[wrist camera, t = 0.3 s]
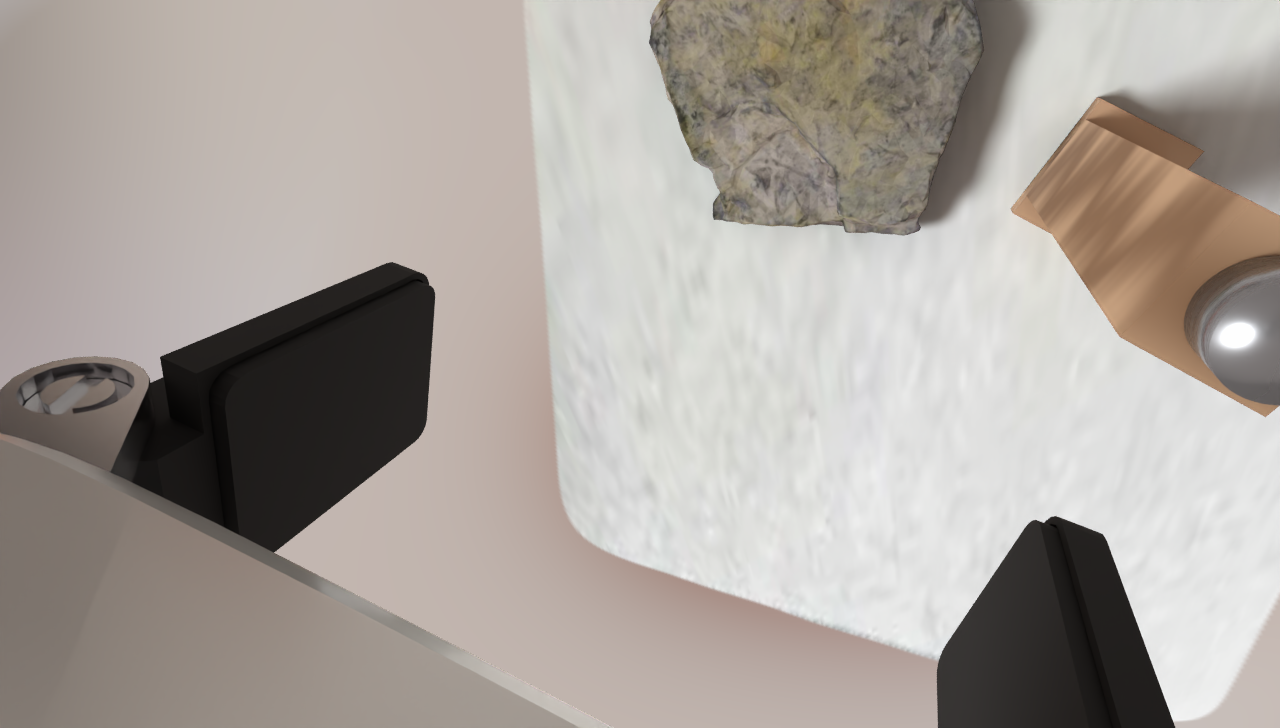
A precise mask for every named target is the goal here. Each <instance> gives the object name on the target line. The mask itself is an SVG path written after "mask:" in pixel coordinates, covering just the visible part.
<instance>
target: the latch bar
mask: <svg viewBox="0 0 1280 728" xmlns="http://www.w3.org/2000/svg"><path fill="white" fill-rule="evenodd" d="M1184 332H1185V336H1186V339H1187V341H1188V343H1189V345H1190V346H1191V348H1192V349H1193V350H1194V352H1195V353H1196V354H1197V355H1198V356H1199V357H1200V359H1201V360H1202V361H1203V362H1204V363H1205V364H1206V366H1207V367H1208V368H1209V369H1210V370H1211V371H1212V372H1213V374H1214V375H1215V376H1216V377H1217V378H1218V379H1219V380H1220V382H1221V383H1222V384H1223V385H1224V386H1225V387H1227V388H1228V389H1229V390H1230V391H1232V392H1233V393H1235V394H1237V395H1238V396H1241V397H1243V398H1245V399H1248V400H1251V401H1254V402H1257V403H1262V404H1268V405H1277V406H1280V255H1277V256H1264V257H1257V258H1253V259H1248V260H1245V261H1242V262H1239V263H1236V264H1234V265H1232V266H1229V267H1227V268H1225V269H1224V270H1222V271H1220V272H1218V273H1217V274H1215V275H1214V276H1212V277H1211V278H1210V279H1208V280H1207V281H1206V282H1205V283H1204V284H1203V285H1202V286H1201V287H1200V288H1199V289H1198V290H1197V291H1196V293H1195V294H1194V296H1193V297H1192V299H1191V300H1190V302H1189V304H1188V306H1187V309H1186V312H1185V317H1184Z"/></svg>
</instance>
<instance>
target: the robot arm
mask: <svg viewBox="0 0 1280 728" xmlns="http://www.w3.org/2000/svg"><path fill="white" fill-rule="evenodd" d="M434 305H435V292H434V289H433V288H432V287H431V286H429V282H428V279H427V277H426V276H425V275H424V274H422V273H420V272H417V271H414V270H412V269H409V268H407V267H404V266H401V265H399V264H396V263H393V262H391V263H386V264H384V265H381V266H379V267H377V268H374V269H372V270H369V271H367V272H365V273H362V274H360V275H357V276H355V277H352V278H350V279H348V280H345V281H343V282H341V283H338V284H335V285H333V286H331V287H328V288H326V289H323V290H321V291H318V292H316V293H314V294H311V295H309V296H307V297H304V298H302V299H299V300H297V301H294V302H292V303H290V304H287V305H285V306H282V307H280V308H278V309H275V310H273V311H270V312H268V313H265V314H263V315H260V316H258V317H256V318H253V319H251V320H249V321H246V322H244V323H241V324H239V325H236V326H234V327H231V328H229V329H227V330H224V331H222V332H219V333H217V334H215V335H212V336H210V337H207V338H205V339H202V340H200V341H198V342H195V343H193V344H190V345H188V346H186V347H183V348H181V349H178V350H176V351H173V352H171V353H169V354H166V355H164V356H161V357H160V359H161V365H162V371H163V378H161V379H159V380H156V381H154V382H152V383H150V378H149V376H148V375H147V373H146V371H145V370H144V369H143V368H141V367H140V366H138V365H136V364H135V363H133V362H129V361H126V360H121V359H118V358H110V357H97V356H94V357H76V358H69V359H63V360H58V361H52V362H49V363H46V364H43V365H40V366H37V367H33V368H31V369H29V370H27V371H25V372H23V373H21V374H19V375H17V376H15V377H14V378H12V379H11V380H10V381H9V382H8V383H7V384H6V385H5V386H4V387H2V389H1V390H0V728H614V727H612V726H610V725H608V724H606V723H604V722H602V721H600V720H598V719H596V718H594V717H592V716H590V715H588V714H586V713H585V712H583V711H581V710H579V709H577V708H575V707H573V706H571V705H569V704H567V703H565V702H563V701H562V700H560V699H558V698H556V697H554V696H552V695H550V694H548V693H546V692H544V691H542V690H540V689H538V688H536V687H534V686H532V685H531V684H529V683H527V682H525V681H523V680H521V679H519V678H517V677H515V676H513V675H511V674H509V673H507V672H505V671H504V670H502V669H499V668H498V667H496V666H494V665H492V664H490V663H488V662H486V661H484V660H482V659H480V658H478V657H476V656H474V655H473V654H471V653H469V652H467V651H465V650H463V649H461V648H459V647H457V646H455V645H453V644H451V643H449V642H447V641H445V640H443V639H441V638H440V637H438V636H436V635H434V634H432V633H430V632H428V631H426V630H424V629H422V628H420V627H418V626H416V625H414V624H412V623H410V622H409V621H406V620H405V619H403V618H400V617H399V616H397V615H395V614H393V613H391V612H389V611H387V610H385V609H383V608H381V607H379V606H377V605H375V604H373V603H372V602H370V601H367V600H366V599H364V598H362V597H360V596H358V595H356V594H354V593H352V592H350V591H348V590H346V589H344V588H342V587H340V586H338V585H336V584H334V583H332V582H330V581H328V580H326V579H324V578H322V577H320V576H318V575H317V574H315V573H313V572H311V571H309V570H307V569H305V568H303V567H301V566H299V565H297V564H295V563H293V562H291V561H289V560H287V559H285V558H283V557H281V556H279V555H277V554H275V553H274V552H275V551H277V550H278V549H279V548H280V547H282V546H283V545H284V544H285V543H287V542H288V541H289V540H290V539H292V538H293V537H294V536H296V535H297V534H298V533H300V532H301V531H302V530H303V529H305V528H306V527H307V526H308V525H310V524H311V523H312V522H313V521H315V520H316V519H317V518H318V517H320V516H321V515H322V514H324V513H325V512H326V511H327V510H329V509H330V508H331V507H333V506H334V505H335V504H336V503H338V502H339V501H340V500H341V499H343V498H344V497H345V496H346V495H348V494H349V493H350V492H352V491H353V490H354V489H355V488H357V487H358V486H359V485H360V484H362V483H363V482H364V481H365V480H367V479H368V478H369V477H371V476H372V475H373V474H374V473H376V472H377V471H378V470H380V468H382V467H383V466H385V465H386V464H387V463H388V462H390V461H391V460H392V459H394V458H395V457H396V456H397V455H399V454H400V453H401V452H402V451H403V450H405V449H406V448H407V447H409V446H410V445H411V444H413V443H414V442H415V441H416V440H417V439H418V438H419V437H420V435H421V434H422V432H423V430H424V428H425V425H426V420H427V408H428V393H429V378H430V364H431V348H432V335H433V320H434ZM937 699H938V700H937V701H938V728H1175V726H1174V723H1173V720H1172V717H1171V715H1170V712H1169V709H1168V707H1167V704H1166V701H1165V698H1164V696H1163V693H1162V690H1161V687H1160V685H1159V682H1158V679H1157V677H1156V674H1155V671H1154V668H1153V666H1152V663H1151V660H1150V658H1149V655H1148V652H1147V649H1146V647H1145V644H1144V641H1143V638H1142V636H1141V633H1140V630H1139V628H1138V625H1137V622H1136V619H1135V617H1134V614H1133V611H1132V609H1131V606H1130V603H1129V600H1128V598H1127V595H1126V592H1125V589H1124V587H1123V584H1122V581H1121V579H1120V576H1119V573H1118V570H1117V568H1116V565H1115V562H1114V560H1113V557H1112V554H1111V551H1110V549H1109V546H1108V543H1107V541H1106V539H1105V537H1104V535H1103V534H1101V533H1099V532H1096V531H1093V530H1091V529H1088V528H1086V527H1083V526H1080V525H1078V524H1075V523H1072V522H1070V521H1067V520H1065V519H1062V518H1059V517H1057V516H1054V517H1051V518H1049V519H1048V520H1046V521H1045V523H1042V522H1040V521H1037V520H1033V521H1031V522H1030V523H1029V524H1028V525H1027V526H1026V527H1025V529H1024V530H1023V532H1022V533H1021V535H1020V536H1019V538H1018V539H1017V541H1016V542H1015V544H1014V545H1013V547H1012V548H1011V550H1010V551H1009V552H1008V554H1007V555H1006V557H1005V558H1004V560H1003V561H1002V563H1001V564H1000V566H999V567H998V569H997V570H996V572H995V573H994V575H993V576H992V578H991V579H990V581H989V582H988V584H987V585H986V587H985V588H984V590H983V591H982V592H981V594H980V595H979V597H978V598H977V600H976V601H975V603H974V604H973V606H972V607H971V609H970V610H969V612H968V613H967V615H966V616H965V618H964V619H963V621H962V622H961V624H960V625H959V627H958V628H957V630H956V631H955V632H954V634H953V635H952V637H951V638H950V640H949V641H948V643H947V644H946V646H945V648H944V649H943V651H942V654H941V656H940V659H939V663H938V669H937Z"/></svg>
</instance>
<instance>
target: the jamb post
mask: <svg viewBox="0 0 1280 728" xmlns="http://www.w3.org/2000/svg"><path fill="white" fill-rule="evenodd" d="M1203 152H1204V151H1203V150H1201V149H1199V148H1197V147H1195V146H1193V145H1191V144H1189V143H1187V142H1185V141H1183V140H1181V139H1179V138H1177V137H1175V136H1173V135H1171V134H1169V133H1167V132H1165V131H1164V130H1162V129H1160V128H1158V127H1156V126H1154V125H1152V124H1150V123H1148V122H1146V121H1144V120H1142V119H1140V118H1138V117H1136V116H1134V115H1132V114H1130V113H1128V112H1126V111H1124V110H1122V109H1120V108H1118V107H1116V106H1114V105H1112V104H1110V103H1108V102H1107V101H1105V100H1103V99H1100V98H1096V99H1095V101H1094V102H1093V103H1092V104H1091V106H1090V107H1089V108H1088V110H1087V111H1086V112H1085V114H1084V115H1083V116H1082V117H1081V119H1080V120H1079V121H1078V123H1077V124H1076V125H1075V126H1074V128H1073V129H1072V130H1071V132H1070V133H1069V134H1068V136H1067V137H1066V138H1065V139H1064V141H1063V142H1062V143H1061V145H1060V146H1059V147H1058V148H1057V150H1056V151H1055V152H1054V154H1053V155H1052V156H1051V158H1050V159H1049V160H1048V161H1047V163H1046V164H1045V165H1044V167H1043V168H1042V169H1041V170H1040V172H1039V173H1038V174H1037V176H1036V177H1035V178H1034V180H1033V181H1032V182H1031V183H1030V185H1029V186H1028V187H1027V189H1026V190H1025V191H1024V192H1023V194H1022V195H1021V196H1020V198H1019V199H1018V200H1017V202H1016V203H1015V204H1014V205H1013V207H1012V208H1011V211H1012V212H1013V213H1014V214H1015V215H1017V216H1019V217H1021V218H1023V219H1025V220H1027V221H1028V222H1030V223H1032V224H1034V225H1036V226H1038V227H1040V228H1041V229H1043V230H1045V231H1047V232H1049V233H1051V234H1052V235H1053V237H1054V238H1055V240H1056V241H1057V243H1058V244H1059V246H1060V247H1061V249H1062V250H1063V252H1064V253H1065V255H1066V256H1067V258H1068V259H1069V261H1070V262H1071V264H1072V265H1073V267H1074V268H1075V270H1076V271H1077V273H1078V274H1079V276H1080V278H1081V279H1082V281H1083V282H1084V284H1085V285H1086V287H1087V288H1088V290H1089V291H1090V293H1091V294H1092V296H1093V297H1094V299H1095V300H1096V302H1097V303H1098V305H1099V306H1100V308H1101V309H1102V311H1103V312H1104V314H1105V315H1106V317H1107V318H1108V320H1109V321H1110V323H1111V325H1112V326H1113V328H1114V329H1115V331H1116V332H1117V334H1118V335H1119V337H1121V338H1123V339H1124V340H1126V341H1128V342H1130V343H1132V344H1134V345H1135V346H1137V347H1139V348H1141V349H1143V350H1145V351H1146V352H1148V353H1150V354H1152V355H1154V356H1155V357H1157V358H1159V359H1161V360H1163V361H1165V362H1166V363H1168V364H1170V365H1172V366H1174V367H1175V368H1177V369H1179V370H1181V371H1183V372H1185V373H1186V374H1188V375H1190V376H1192V377H1194V378H1195V379H1197V380H1199V381H1201V382H1203V383H1205V384H1206V385H1208V386H1210V387H1212V388H1214V389H1216V390H1217V391H1219V392H1221V393H1223V394H1225V395H1226V396H1228V397H1230V398H1232V399H1234V400H1236V401H1237V402H1239V403H1241V404H1243V405H1245V406H1246V407H1248V408H1250V409H1252V410H1254V411H1256V412H1257V413H1259V414H1261V415H1263V416H1265V417H1266V416H1267V415H1269V414H1270V413H1271V412H1272V411H1274V410H1275V409H1276V408H1277V407H1278V406H1277V405H1268V404H1262V403H1257V402H1254V401H1251V400H1248V399H1245V398H1243V397H1241V396H1238V395H1237V394H1235V393H1233V392H1232V391H1230V390H1229V389H1228V388H1227V387H1225V386H1224V385H1223V384H1222V383H1221V382H1220V380H1219V379H1218V378H1217V377H1216V376H1215V375H1214V374H1213V372H1212V371H1211V370H1210V369H1209V368H1208V367H1207V366H1206V364H1205V363H1204V362H1203V361H1202V360H1201V359H1200V357H1199V356H1198V355H1197V354H1196V353H1195V352H1194V350H1193V349H1192V348H1191V346H1190V345H1189V343H1188V341H1187V339H1186V336H1185V332H1184V317H1185V312H1186V309H1187V306H1188V304H1189V302H1190V300H1191V299H1192V297H1193V296H1194V294H1195V293H1196V291H1197V290H1198V289H1199V288H1200V287H1201V286H1202V285H1203V284H1204V283H1205V282H1206V281H1207V280H1208V279H1210V278H1211V277H1212V276H1214V275H1215V274H1217V273H1218V272H1220V271H1222V270H1224V269H1225V268H1227V267H1229V266H1232V265H1234V264H1236V263H1239V262H1242V261H1245V260H1248V259H1253V258H1257V257H1264V256H1277V255H1280V216H1279V215H1277V214H1275V213H1273V212H1271V211H1270V210H1268V209H1266V208H1264V207H1262V206H1260V205H1258V204H1256V203H1254V202H1252V201H1250V200H1248V199H1246V198H1244V197H1242V196H1240V195H1238V194H1236V193H1234V192H1232V191H1230V190H1228V189H1226V188H1224V187H1222V186H1219V185H1217V184H1215V183H1213V182H1211V181H1209V180H1207V179H1205V178H1203V177H1201V176H1199V175H1197V174H1195V173H1193V172H1191V171H1189V170H1188V169H1189V168H1190V167H1191V165H1192V164H1193V163H1194V162H1195V161H1196V160H1197V159H1198V158H1199V157H1200V155H1201V154H1202V153H1203Z"/></svg>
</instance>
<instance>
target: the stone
mask: <svg viewBox="0 0 1280 728" xmlns="http://www.w3.org/2000/svg"><path fill="white" fill-rule="evenodd" d="M650 24H651V36H650V40H649V44H650V46H651V48H652V50H653V53H654V55H655V57H656V60H657V62H658V64H659V66H660V69H661V73H662V77H663V80H664V83H665V88H666V94H667V97H668V100H669V101H670V102H671V103H672V104H673V106H674V109H675V112H676V115H677V118H678V121H679V125H680V128H681V131H682V133H683V136H684V138H685V141H686V143H687V145H688V147H689V149H690V152H691V155H692V157H693V160H694V161H696V162H697V163H699V164H700V165H702V166H704V167H707V168H709V169H710V170H711V171H712V173H713V178H714V181H715V183H716V185H717V188H718V189H719V191H720V194H719V195H718V197H717V198H716V200H715V201H714V203H713V218H714V220H724V221H730V222H738V223H741V224H757V225H766V226H794V227H804V226H809V225H818V224H825V225H839V226H844V229H845V232H848V233H867V232H875V233H881V234H897V235H908V234H911V233H914V232H917V231H919V230H920V228H921V227H920V225H919V223H918V217H919V216H920V215H921V213H922V212H923V211H924V210H925V208H926V206H927V203H928V196H929V192H930V186H931V183H932V180H933V174H934V172H935V170H936V168H937V165H938V162H939V158H940V156H941V155H942V153H943V152H944V149H945V146H946V144H947V142H948V139H949V137H950V134H951V132H952V129H953V126H954V123H955V120H956V115H957V111H958V107H959V104H960V100H961V98H962V95H963V93H964V90H965V88H966V86H967V84H968V81H969V79H970V76H971V74H972V73H973V71H974V69H975V67H976V66H977V64H978V62H979V60H980V58H981V55H982V53H983V51H984V47H983V40H982V34H981V27H980V23H979V20H978V16H977V12H976V9H975V5H974V2H973V0H660V2H659V3H658V5H657V6H656V8H655V10H654V12H653V14H652V17H651V20H650Z"/></svg>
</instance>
